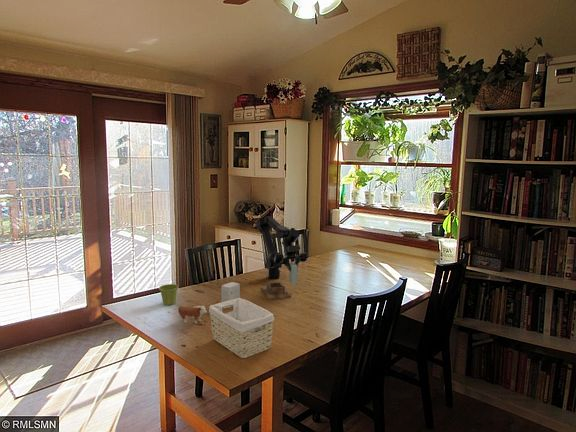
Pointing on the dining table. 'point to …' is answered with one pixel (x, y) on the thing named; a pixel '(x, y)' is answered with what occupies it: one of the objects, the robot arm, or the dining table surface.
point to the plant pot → (168, 293)
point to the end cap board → (275, 290)
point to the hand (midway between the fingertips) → (293, 270)
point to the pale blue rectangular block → (293, 274)
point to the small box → (230, 291)
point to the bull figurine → (192, 312)
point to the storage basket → (242, 327)
